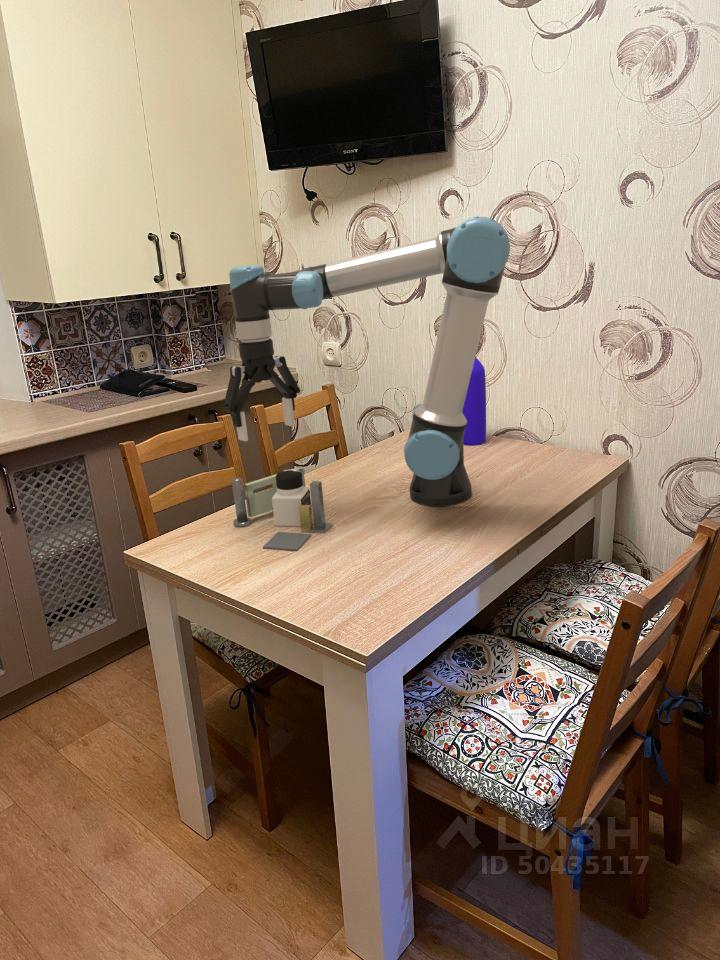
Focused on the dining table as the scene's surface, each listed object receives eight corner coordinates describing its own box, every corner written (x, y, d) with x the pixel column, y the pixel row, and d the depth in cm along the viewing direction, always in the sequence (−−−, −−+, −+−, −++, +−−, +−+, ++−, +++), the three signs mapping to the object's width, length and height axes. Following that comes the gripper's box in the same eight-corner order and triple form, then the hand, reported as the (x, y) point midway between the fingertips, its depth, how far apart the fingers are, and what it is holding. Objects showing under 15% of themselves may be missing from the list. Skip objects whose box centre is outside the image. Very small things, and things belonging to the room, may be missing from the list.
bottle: (458, 446, 210) (455, 345, 200) (459, 438, 218) (456, 340, 208) (486, 445, 209) (485, 343, 199) (486, 437, 217) (485, 339, 207)
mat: (311, 535, 156) (311, 534, 156) (297, 551, 149) (296, 549, 149) (278, 533, 159) (278, 531, 159) (262, 548, 152) (262, 546, 152)
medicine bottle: (304, 526, 161) (299, 477, 157) (274, 526, 163) (268, 477, 159) (312, 514, 168) (307, 466, 164) (283, 514, 169) (278, 467, 165)
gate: (251, 517, 166) (247, 485, 163) (248, 515, 167) (243, 484, 164) (306, 498, 175) (303, 467, 173) (303, 497, 176) (300, 466, 174)
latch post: (332, 525, 161) (328, 479, 157) (325, 533, 157) (321, 486, 153) (308, 523, 163) (304, 478, 159) (301, 531, 159) (296, 485, 155)
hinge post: (255, 520, 167) (249, 476, 163) (247, 527, 163) (240, 482, 159) (238, 518, 168) (232, 475, 165) (230, 526, 165) (223, 481, 161)
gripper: (287, 329, 166) (297, 417, 173) (197, 348, 149) (212, 444, 156) (308, 331, 160) (318, 421, 168) (217, 350, 144) (232, 449, 151)
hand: (267, 432), depth 162 cm, fingers open, 13 cm apart
